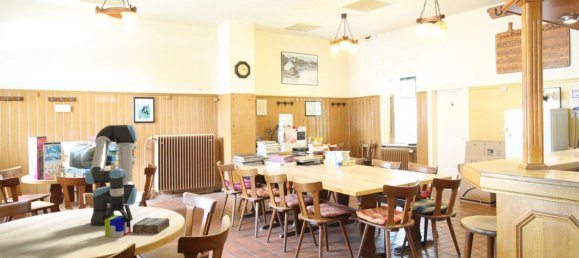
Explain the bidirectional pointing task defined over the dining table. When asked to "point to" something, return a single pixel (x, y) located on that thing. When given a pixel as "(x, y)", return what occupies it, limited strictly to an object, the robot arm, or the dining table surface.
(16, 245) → the dining table surface
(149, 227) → the walnut base
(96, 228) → the dining table surface
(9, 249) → the dining table surface
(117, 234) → the puzzle toy
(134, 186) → the robot arm
